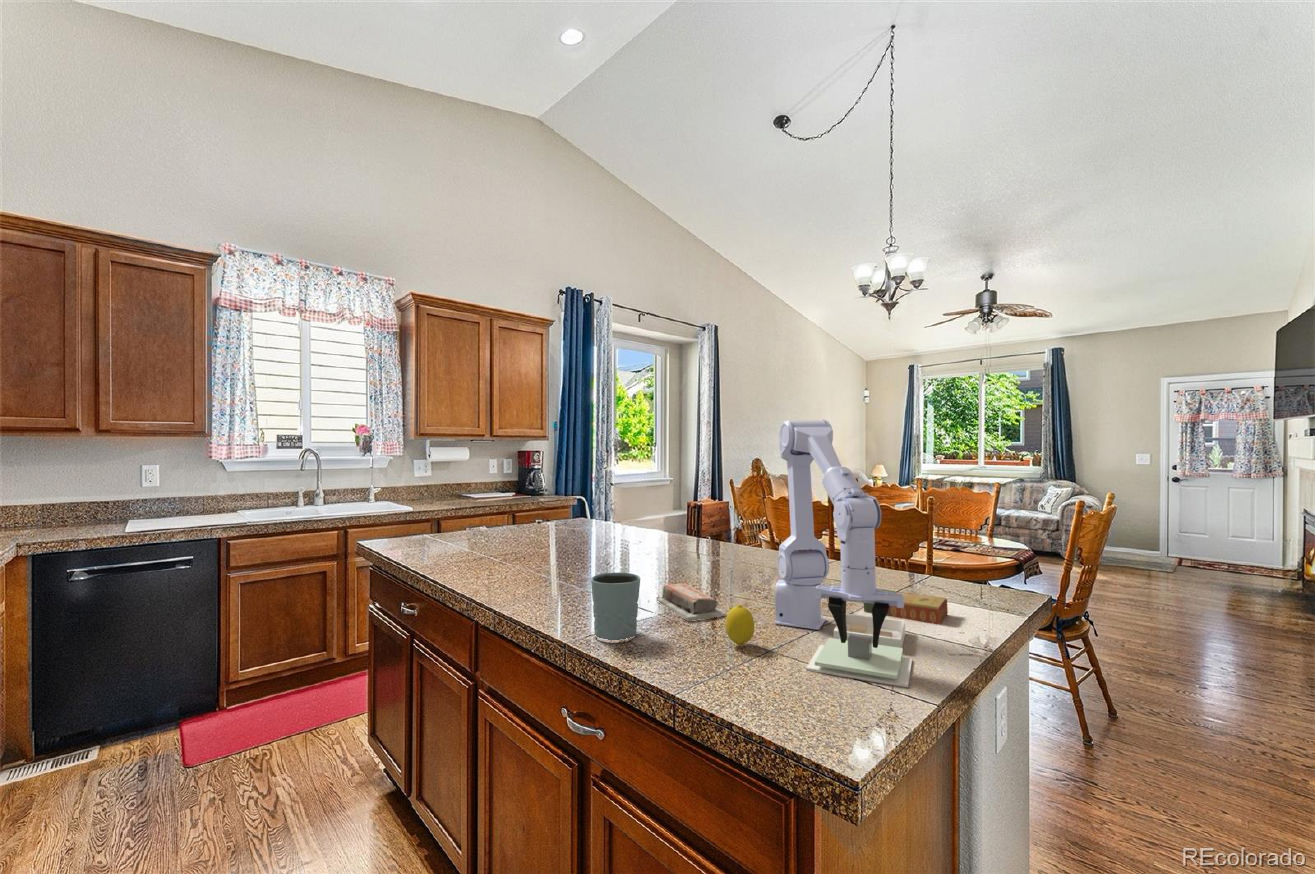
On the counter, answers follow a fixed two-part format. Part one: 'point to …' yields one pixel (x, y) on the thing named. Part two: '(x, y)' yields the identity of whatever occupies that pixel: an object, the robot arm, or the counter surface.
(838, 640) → the lid
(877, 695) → the counter surface
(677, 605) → the packaged product
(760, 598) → the counter surface
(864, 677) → the mat
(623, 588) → the grey-green cup
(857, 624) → the box
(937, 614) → the carton
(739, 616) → the lemon
